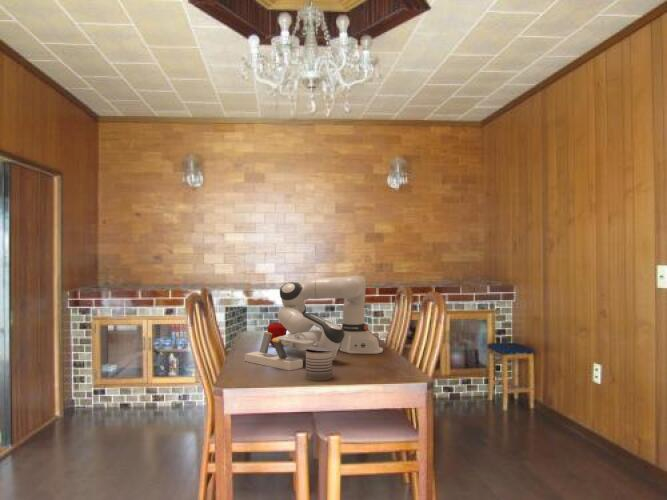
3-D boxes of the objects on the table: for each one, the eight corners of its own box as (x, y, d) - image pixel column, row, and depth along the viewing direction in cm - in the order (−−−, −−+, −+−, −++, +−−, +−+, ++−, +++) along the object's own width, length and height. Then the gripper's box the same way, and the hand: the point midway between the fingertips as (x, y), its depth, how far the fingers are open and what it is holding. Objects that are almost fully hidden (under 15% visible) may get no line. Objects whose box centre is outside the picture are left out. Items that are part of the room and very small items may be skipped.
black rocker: (281, 355, 238) (274, 337, 235) (287, 356, 236) (279, 338, 232) (279, 357, 237) (271, 339, 234) (284, 358, 235) (277, 340, 231)
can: (301, 375, 221) (301, 346, 221) (326, 372, 225) (326, 344, 225) (311, 381, 210) (311, 351, 210) (337, 378, 215) (337, 349, 215)
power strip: (257, 358, 254) (257, 350, 254) (302, 367, 235) (302, 359, 235) (244, 361, 248) (244, 353, 248) (290, 370, 228) (290, 361, 228)
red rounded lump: (263, 346, 287) (263, 321, 287) (277, 343, 295) (277, 319, 295) (276, 348, 280) (276, 323, 280) (290, 346, 288) (290, 321, 288)
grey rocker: (261, 352, 248) (267, 332, 250) (267, 353, 245) (272, 333, 248) (259, 352, 247) (264, 331, 249) (264, 353, 244) (269, 332, 247)
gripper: (319, 351, 240) (298, 355, 229) (287, 345, 253) (266, 349, 242) (319, 337, 240) (299, 341, 229) (287, 332, 253) (266, 335, 243)
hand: (282, 345), depth 236 cm, fingers closed
